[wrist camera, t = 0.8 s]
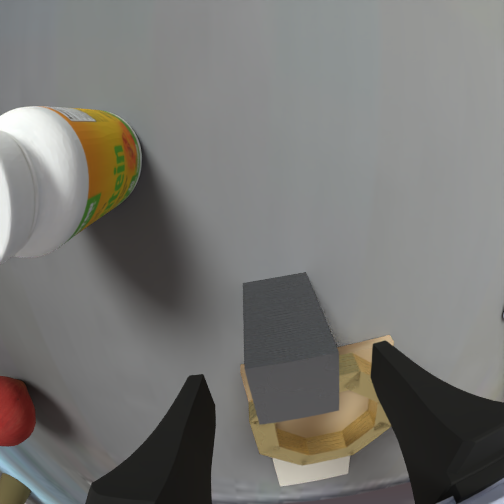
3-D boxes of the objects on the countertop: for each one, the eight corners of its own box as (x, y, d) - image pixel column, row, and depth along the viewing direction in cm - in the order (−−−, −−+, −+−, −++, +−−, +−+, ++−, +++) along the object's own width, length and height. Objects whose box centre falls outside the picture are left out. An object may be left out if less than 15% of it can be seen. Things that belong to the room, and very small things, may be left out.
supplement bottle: (129, 222, 16) (29, 323, 7) (49, 195, 15) (-76, 260, 6) (157, 123, 14) (49, 123, 5) (70, 101, 14) (-69, 99, 5)
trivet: (350, 436, 24) (351, 439, 23) (347, 470, 26) (348, 473, 26) (271, 451, 24) (271, 455, 23) (280, 483, 26) (280, 486, 26)
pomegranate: (23, 406, 22) (-9, 465, 15) (-12, 361, 20) (-54, 417, 13) (60, 404, 22) (26, 473, 14) (20, 353, 20) (-27, 421, 12)
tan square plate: (389, 334, 19) (394, 341, 19) (378, 422, 23) (381, 429, 22) (240, 364, 20) (240, 372, 19) (263, 446, 23) (264, 453, 23)
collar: (394, 341, 19) (404, 358, 17) (381, 429, 22) (387, 445, 21) (240, 372, 19) (240, 392, 17) (264, 453, 23) (265, 471, 21)
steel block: (305, 272, 18) (338, 352, 11) (311, 323, 19) (339, 410, 12) (242, 283, 18) (244, 369, 11) (253, 334, 19) (259, 424, 12)
